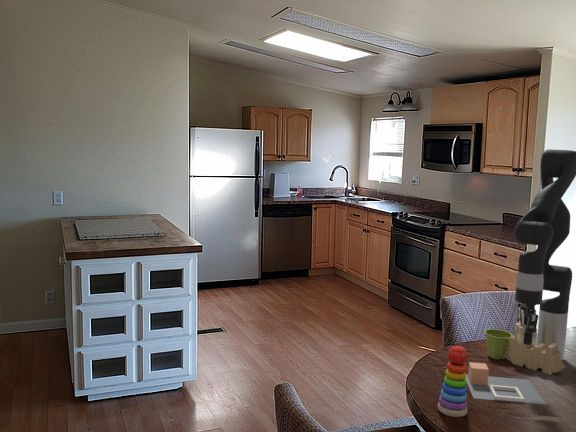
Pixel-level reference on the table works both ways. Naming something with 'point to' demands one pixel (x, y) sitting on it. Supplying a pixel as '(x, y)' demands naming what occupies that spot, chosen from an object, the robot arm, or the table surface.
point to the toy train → (536, 356)
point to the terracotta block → (478, 373)
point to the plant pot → (497, 343)
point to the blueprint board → (506, 390)
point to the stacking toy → (454, 385)
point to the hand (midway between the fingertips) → (525, 341)
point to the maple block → (520, 334)
